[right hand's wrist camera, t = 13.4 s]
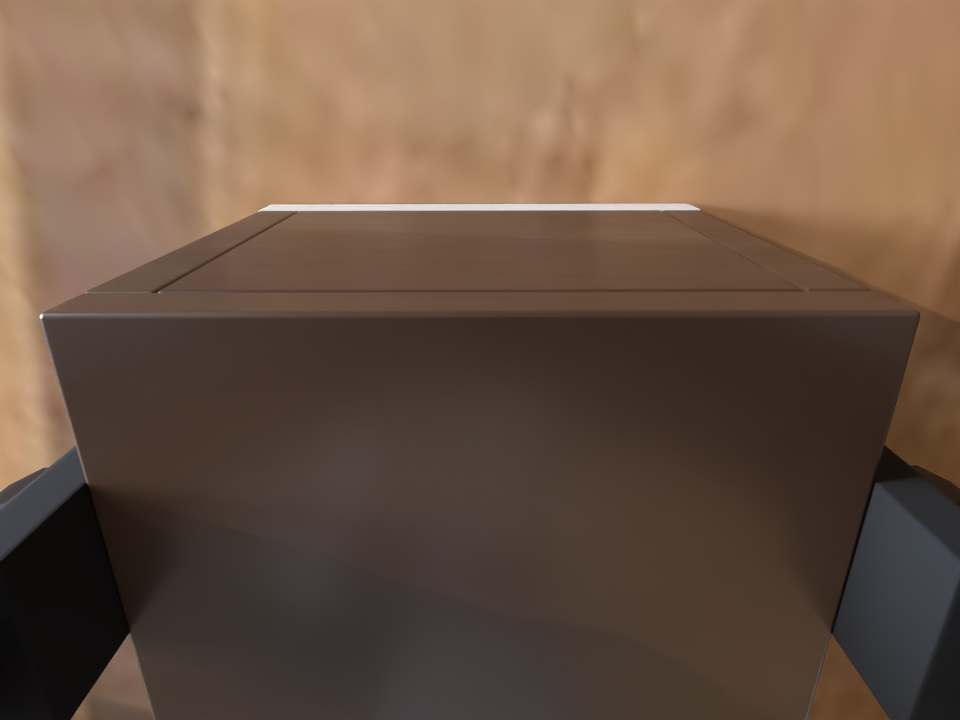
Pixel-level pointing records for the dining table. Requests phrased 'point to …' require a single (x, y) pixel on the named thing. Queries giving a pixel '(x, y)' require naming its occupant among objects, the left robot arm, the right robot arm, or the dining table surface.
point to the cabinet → (480, 462)
